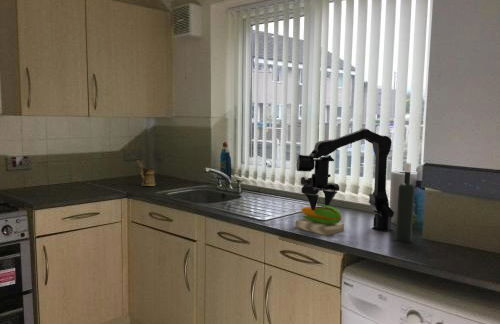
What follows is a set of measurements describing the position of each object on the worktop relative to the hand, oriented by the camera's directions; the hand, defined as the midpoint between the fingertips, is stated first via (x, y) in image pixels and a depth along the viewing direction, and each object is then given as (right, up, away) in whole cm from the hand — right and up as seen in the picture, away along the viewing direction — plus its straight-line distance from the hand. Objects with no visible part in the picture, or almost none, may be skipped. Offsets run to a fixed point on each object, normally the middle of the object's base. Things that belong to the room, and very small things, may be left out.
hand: (319, 208), depth 183 cm
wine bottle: (+30, -11, -13) cm, 35 cm away
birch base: (0, -9, +1) cm, 9 cm away
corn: (0, -6, +1) cm, 6 cm away
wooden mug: (-97, +4, +102) cm, 140 cm away
